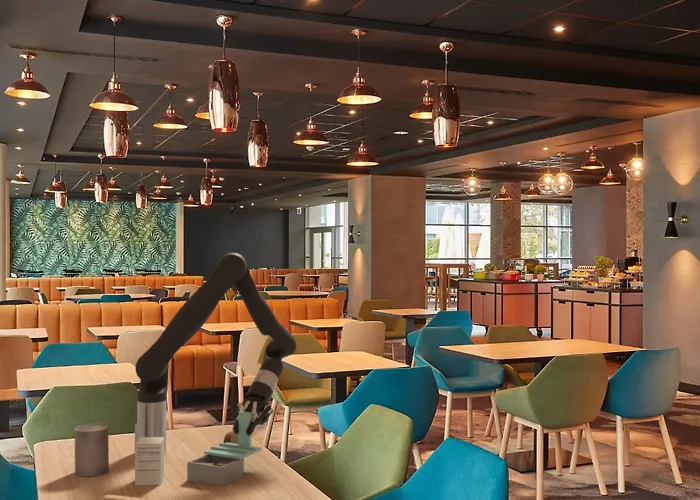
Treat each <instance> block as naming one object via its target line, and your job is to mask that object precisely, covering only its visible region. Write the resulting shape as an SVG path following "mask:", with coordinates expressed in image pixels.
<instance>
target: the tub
mask: <svg viewBox="0 0 700 500" xmlns="http://www.w3.org/2000/svg"><path fill="white" fill-rule="evenodd" d="M226 461H230V462H231V463H228V464H226V465H224V466H217V464H218V463H222V462H226ZM186 463H187V465H186V466H187V471H186V474H187V475H186V480H187V481H189V482H194V483H202V484H205V485H213V486H217V487H223V486H226V485H228V484H230V483H233V482H234V481H236V480H239V479H241V478H242V477H244V475H245V474H244V472H245V465H244V464H245V458H242V459H234V458H227V457H220V456H214V455H207V454H204V455H202V456H200V457H197V458H194V459H191V460H190V461H187V462H186ZM202 463H213V464H214V465H208V464H202Z"/></svg>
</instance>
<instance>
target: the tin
mask: <svg viewBox="0 0 700 500" xmlns="http://www.w3.org/2000/svg"><path fill="white" fill-rule="evenodd" d="M223 443H234V444H238V434H235V433H234V432H233V428H232V429H231V430H229V431H228V432H226V434H225V435H224V438H223Z"/></svg>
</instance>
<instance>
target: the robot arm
mask: <svg viewBox="0 0 700 500" xmlns="http://www.w3.org/2000/svg"><path fill="white" fill-rule="evenodd" d="M249 269H250V268H249V267H248V264H247V260H246V258H245V257H244V256H243V255H241V254H240V253H238V252H229V253H226V254H224V255H223V256H222V257H221V258H220V259H219V261H218V262H217V265H216V266H215V267H214V269H213V271H212V273H210V275H209V276H208V278H207V280H206V281H205V282H204V283H203V284H202V285H201V286H200V287H199V288H198V289H197V290H196V291H194V293H192V295H191V296H190V297H189V298H188V299H187V300H186V301H185V302H184V303H183V304H182V306H181V307H180V308H179V310H178V311H177V312H176V313H175V315H174V316H173V317H172V318H171V320H170V322H169V323H168V324H167V326H166V327H165V329H164V330H163V332H162V333H161V335H160V336H159V338H158V339H157V340H155V342H154V343H153V344H152V345H151V346H150V347H149V348H147V350H146V351H145V352H144V353H143V354H141V356H140V357H139V358H137V360H136V362H135V374H136V376H137V377H138V379H140V382H139V388H138V392H137V406H136V407H137V415H136V416H137V421H136V423H134V444H135V443H136V442H137V441H138V439H139V438H141V437H164V454H165V453H166V451H167V450H166V449H167V395H168V387H169V363H170V361H171V360H172V358H173V357H174V356H175V355H176V353H177V352H178V351H179V350H180V349H181V348H182V347H183V346H185V344H186V343H188V342H189V341H190V340H191V339H192V338H193V337H195V335H196V334H197V333H198V332H199V331H200V329H201V328H202V327H203V326H204V324H205V323H206V322H208V319H209V318H210V317H211V315H212V314H213V312H214V311H215V309H216V308H217V305H219V302H220V301H221V299H222V298H223V296H225V295H226V293H227V292H228V291H229V290H230V289H231V288H232V287H234V288H235V290H236V291H237V293H238V294H239V296H240V297H241V299H242V301H243V303H244V305H245V308H246V309H247V312H248V314H249V316H250V318H251V320H252V321H253V323H254V325H255V326H256V328H257V329H258V331H259V332H260V334H261V335H262V336H268V337H270V338H272V340H270V341H269V342H268V344H267V345H266V347H265V351H264V354H263V362H262V364H261V366H260V367H259V369H258V371H257V373H256V374H255V376H254V377H253V380H252V383H251V384H250V385H249V389H248V390H247V393H246V398H245V399H244V400H242V402H238V401H234V403H233V410H232V415H231V417H232V419H233V420H234V424H233V427H232V429H233V432H234V433H235V434H238V424H239V422H238V416H239V412H240V411H243V412H252V420H251V421H252V422H250V423H249V425H248V427H247V430H246V434H247V435H248V436H250V435H251V436H252V434H254V431H255V429H256V428H257V426H258V425H260V426H263V424H264V423H265V422H266V421H267V420H268V419H269V417H270V416H271V415H272V414H273V413H274V409H273V407H272V406H271V405H270V404H269V403H270V402H271V399H272V396H273V394H274V392H275V390H276V388H277V385H278V382H279V379H280V377H281V375H282V372H283V370H284V365H283V362H282V359H285V358H287V357H289V356H292V355H293V354H294V353H295V352H296V350H297V342H296V340H295V337H294V336H293V334H292V333H291V332H290V331H289V330H288V329H286V327H285V326H284V325H283V324H282V323H281V322H280V321H279V320H278V318H277V317H276V315H275V314H274V312H273V310H272V309H271V307H270V305H269V304H268V303H267V301H266V299H265V298H264V296H263V295H262V292H261V291H260V290H259V288H258V287H257V285H256V283H255V281H254V279H253V277H252V274H251V272H250V270H249ZM268 404H269V405H268Z"/></svg>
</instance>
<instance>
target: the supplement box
mask: <svg viewBox="0 0 700 500" xmlns="http://www.w3.org/2000/svg"><path fill="white" fill-rule="evenodd" d="M164 479H165V453H164V437H141V438H139V439H138V441H137V442H136V443H135V442H134V485H135V486H160V485H162V483H163V482H164Z"/></svg>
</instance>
